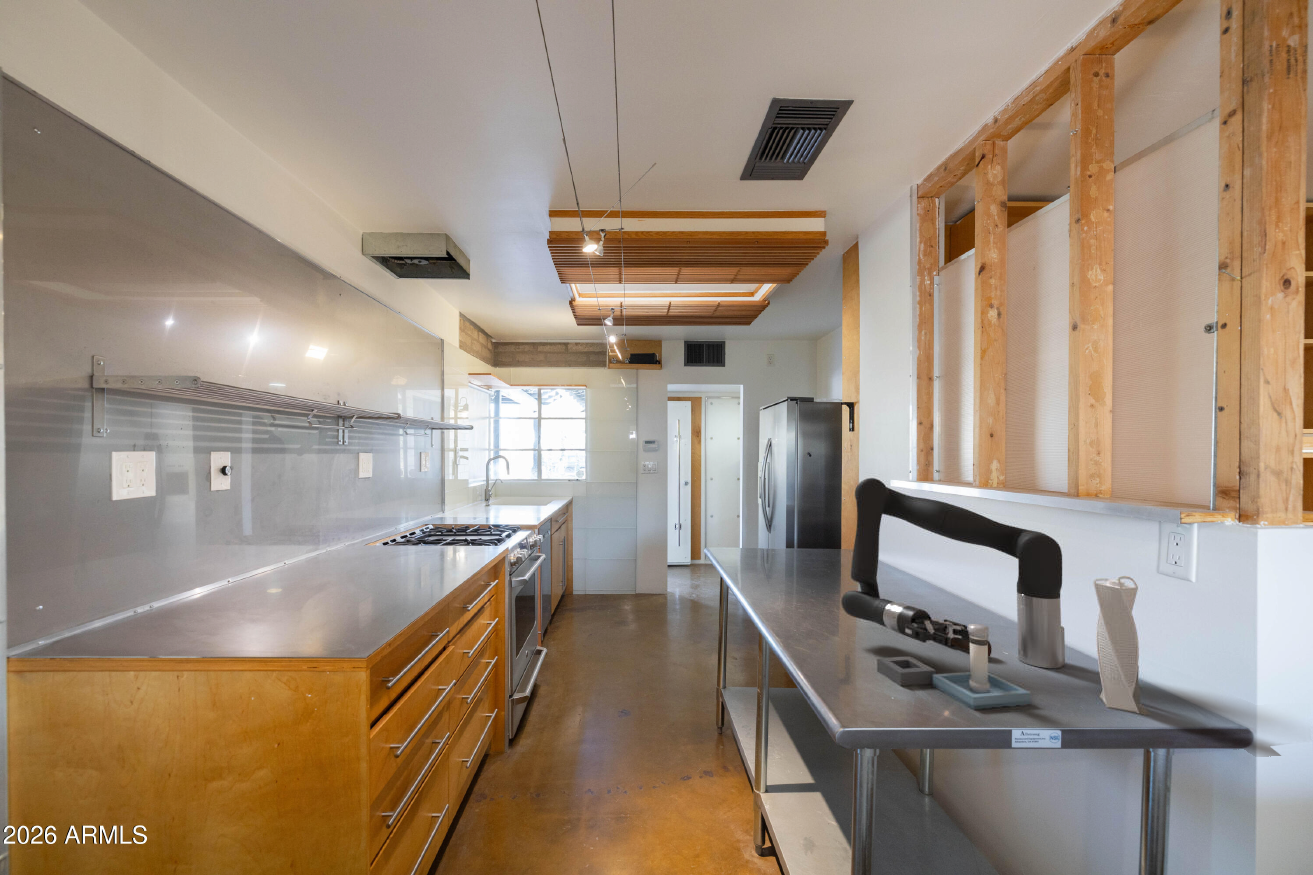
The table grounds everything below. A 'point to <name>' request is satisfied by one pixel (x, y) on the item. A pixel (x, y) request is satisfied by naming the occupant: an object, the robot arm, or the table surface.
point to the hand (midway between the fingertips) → (963, 640)
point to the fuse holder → (905, 671)
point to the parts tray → (998, 696)
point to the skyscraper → (1118, 645)
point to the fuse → (978, 658)
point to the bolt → (965, 644)
